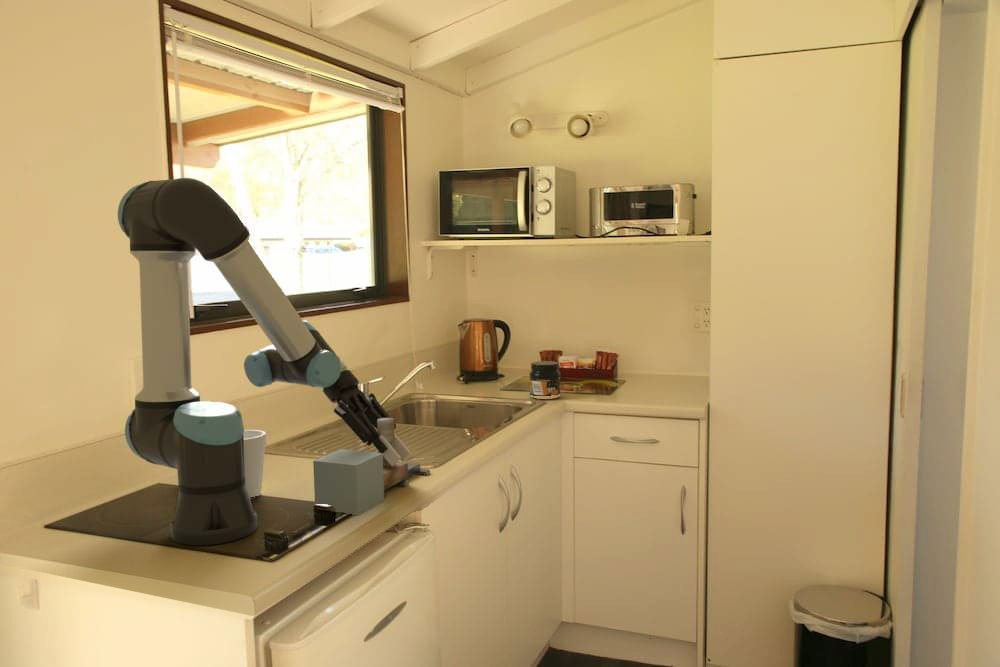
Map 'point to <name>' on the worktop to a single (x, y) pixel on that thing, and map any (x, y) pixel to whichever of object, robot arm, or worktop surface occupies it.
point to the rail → (410, 474)
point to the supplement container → (544, 378)
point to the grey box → (349, 480)
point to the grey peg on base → (390, 473)
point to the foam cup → (254, 460)
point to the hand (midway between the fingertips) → (401, 459)
